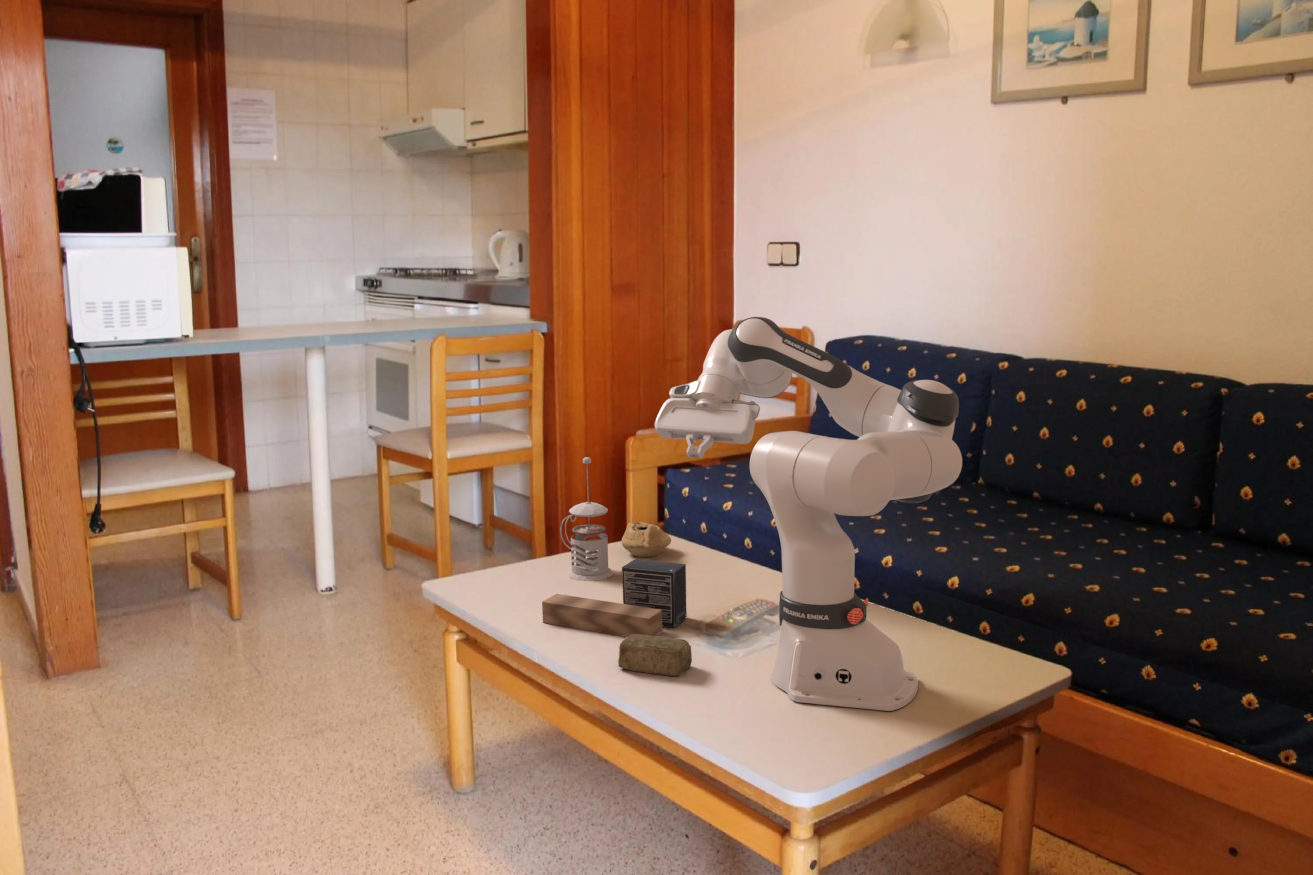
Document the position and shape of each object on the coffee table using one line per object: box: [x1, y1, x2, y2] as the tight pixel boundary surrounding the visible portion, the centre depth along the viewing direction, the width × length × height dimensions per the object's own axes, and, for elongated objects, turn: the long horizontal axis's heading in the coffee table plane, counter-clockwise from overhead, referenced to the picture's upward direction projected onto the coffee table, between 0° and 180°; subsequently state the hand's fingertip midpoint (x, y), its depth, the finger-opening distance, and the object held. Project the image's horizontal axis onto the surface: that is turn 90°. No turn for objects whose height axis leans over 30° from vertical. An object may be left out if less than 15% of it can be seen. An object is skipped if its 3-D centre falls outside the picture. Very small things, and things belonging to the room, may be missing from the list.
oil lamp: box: [621, 521, 672, 558], centre depth 240 cm, size 11×15×8 cm
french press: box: [559, 456, 614, 582], centre depth 225 cm, size 10×12×25 cm
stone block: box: [617, 634, 693, 677], centre depth 175 cm, size 6×12×5 cm, turn 70°
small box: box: [621, 558, 688, 628], centre depth 197 cm, size 11×6×10 cm, turn 67°
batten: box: [541, 593, 663, 638], centre depth 194 cm, size 22×5×4 cm, turn 63°
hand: (693, 456), depth 209 cm, fingers closed
